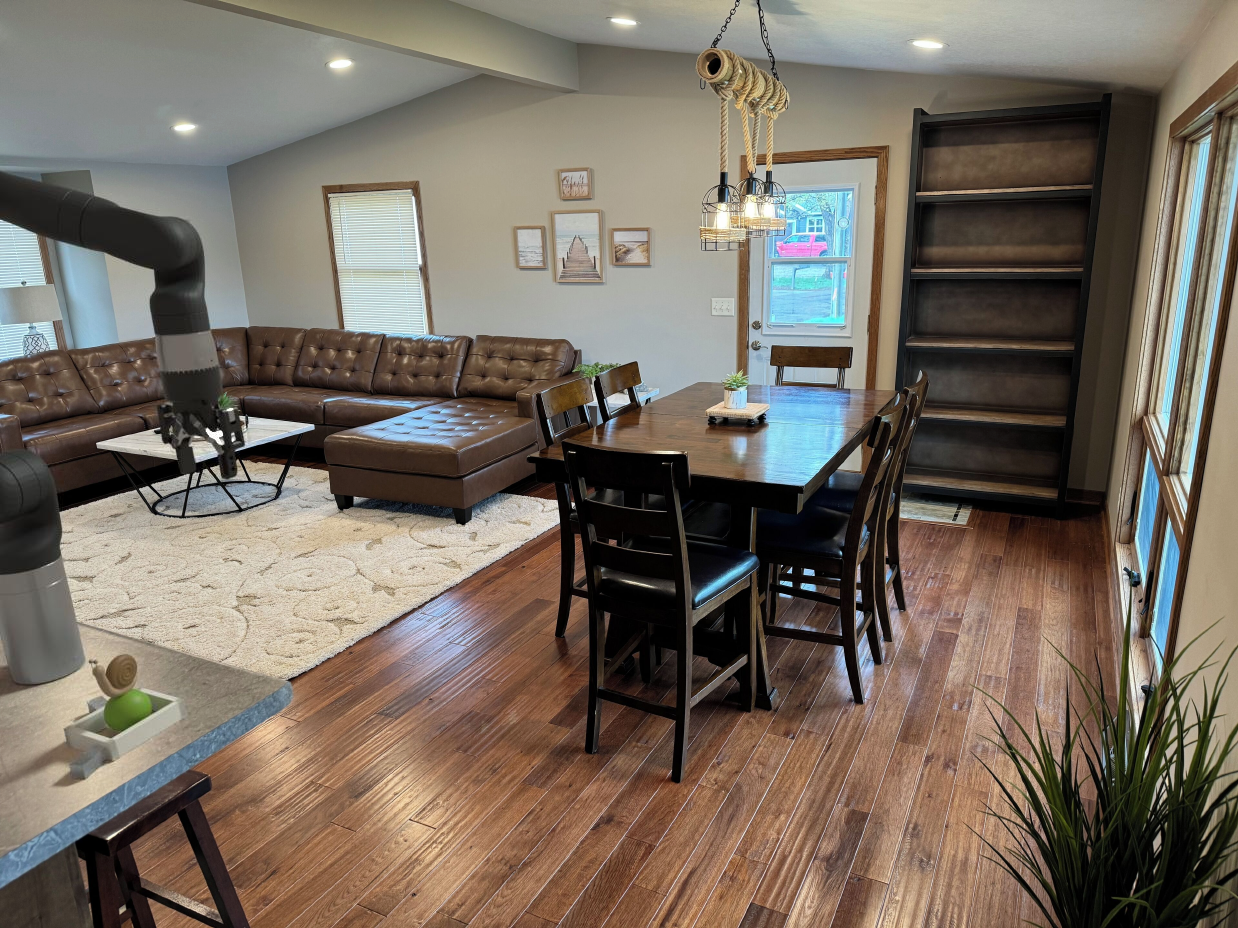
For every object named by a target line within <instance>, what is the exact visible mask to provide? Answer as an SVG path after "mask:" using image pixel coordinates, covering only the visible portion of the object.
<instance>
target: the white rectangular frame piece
mask: <svg viewBox="0 0 1238 928" xmlns="http://www.w3.org/2000/svg"><path fill="white" fill-rule="evenodd" d="M135 689H137V690H140V691H142V692H144V693H145V694H146V695H147V696H148V697H149V699H150V701H151V704H152V711H153V713H151V715H150V716H149V717H147V718H145V719H143V720H142V721H140V722H138V723H137V724H135V725H133V726H132V727H130V728H128V729H127V730H125V731H123V732H119V733H118V734H116V735H115V736H113V737H112V738H109V737H107V736H104V735H101V734H98V733H99V732H100V731H103V730H104V729H106V728H107V727H109V726H108V725H107V723H106V722H105V719H104V708H105V705H106V703H107V701H108V700H107V698H105V697H103V695H100V696H97V697H95V698H93V699H90V700H87V702H86V703H87V707H88V713H89V714H87V715H86V716H84V717H82V718H80V719H78V720H76V721H75V722H73V723H71V724H69V725H67V726H66V727H64V728H63V733H64V736H65V737H64V738H65V740H66V744H67V747H70V748H74V749H76V750H79V751H82V752H83V753H82V754H80V756H78V757H77V758H76V759H74V760H73V761H72V762H71V763H70V764H69V765H68V766H69V769H70V774H71V778H72V779H80V780H81V779H82V780H86V779H87V778H89V777H90V776H91V775H92V774H93V773H95V771H97V770H98V769H99V768H101V767H102V766H103V765H104V764H105V763H106V762H108V761H112V762H115V761H116V760H118V759H119V758H121V757H122V756H125V755H126V754H128V753H129V752H131V751H132V750H134V749H135V748H138V746H141V745H142V744H144V743H145V742H147V741H149V740H150V739H152V738H153V737H155V736H157V735H158V734H161V733H162V732H163V731H165V730H166V729H168V728H170V727H172V726H173V725H175V724H176V723H178V722H179V721H181V720H183V719H185V718H186V717H187V716H188V715H187V709H186V705H185V700H184V699H183V698H180V697H177V696H176V697H175V696H173V695H170V694H167V693H166V694H165V693H162V692H159V691H156V690H152V689H149V688H148V689H147V688H145V687H141V686H138V687H136V688H135Z"/></svg>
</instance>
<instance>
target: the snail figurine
mask: <svg viewBox="0 0 1238 928" xmlns="http://www.w3.org/2000/svg"><path fill="white" fill-rule="evenodd" d="M88 664H89V665H91V670H92V671H91V673H92V676H94V678H95V680H96V683H97V685H98V687H99V688H100V690H101V691H102V693H103V694H104V695H105V696H106V697H109V699H108V700H107V703H106V705H105V708H104V719H105V722H106V723H107V725H108V727H109V728H110V729H111V730H113V731H115V732H119V733H121V732H123V731H125V730H127V729H128V728H130V727H132V726H133V725H135V724H137V723H138V722H140V721H142V720H143V719H145V718H147V717H149V716H150V715H152V711H153V710H152V704H151V701H150V699H149V697H148V696H147V695H146V694H145V693H144V692H142V691H140V690H137V689H136V688H134V687H135V686H136V683H137V681H138V675H137V674H138V673H137V672H138V662H137V661H136V659H135V658H134V656H132V655H131V654H127V653H123V654H119V655H117V656H116V657H114V658H113V659H112V660H111V661H110V662H109V663H108V665H107V667H106V669H105V667H104V666H103V665H97V664H99V660H98V659H94V660H93V659H92V658H91V659H90V658H89V660H88ZM93 664H94V665H95V666H94V667H93Z"/></svg>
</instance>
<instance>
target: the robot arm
mask: <svg viewBox="0 0 1238 928" xmlns="http://www.w3.org/2000/svg"><path fill="white" fill-rule="evenodd" d="M0 221H3V222H5V223H9V224H11V225H14V226H16V227H19V228H21V229H23V230H26V231H28V232H31V233H33V234H35V235H38V236H41V237H43V238H48V239H51V240H53V241H57V242H60V243H64V244H67V245H71V246H75V247H79V248H82V249H86V250H90V251H94V252H100V253H104V254H107V255H109V256H111V257H114V258H117V259H119V260H122V261H124V262H127V263H129V264H132V265H135V266H138V267H141V268H144V269H149V270H153V276H154V290H153V291H152V293H151V294H150V296H149V310H150V311H149V312H150V316H151V321H152V326H153V331H154V337H155V338H154V339H155V354H156V359H157V364H158V369H159V374H160V375H159V376H160V381H161V386H162V391H163V396H164V399H165V400H166V401H167V402H163V403H160V404H159V403H158V404H157V406H156V409H157V416H158V423H159V429H160V436H161V441H162V443H163V444H164V445H168V444H169V445H170V446H171V448H172V449H173V450H175V456H176V460H177V465H178V468H179V471H180V473H181V474H185V475H187V474H190V473H193V472H196V471H197V463H196V460H195V454H194V453H195V452H194V448H193V446H190V445H192V442H193V440H194V437H195V436H197V437H201V438H203V439H204V440H205V442H207V443H209V444H211V445H212V446H213V448H214V450H215V451H216V453H217V454H216V456H217V461H218V466H219V471H220V478H222V479H223V480H229V479H233V478H235V477H237V476H238V469H239V468H238V464H237V458H236V451H237V450H238V449H241V448H245V446H246V441H245V437H244V431H243V427H242V423H241V422H242V421H241V418H240V413H239V409H238V407H237V406H236V405H233V406H228V407H222V406H221V404H220V402H219V398H220V397H221V395H222V394H223V393H224V388H223V382H222V381H223V380H222V376H221V371H220V369H221V368H220V364H219V359H218V353H217V347H216V343H215V341H214V337H213V333H212V330H211V323H210V319H209V317H210V316H209V312H208V307H207V303H206V298H205V290H206V289H205V288H206V262H205V261H206V260H205V252H204V246H203V242H202V239H201V236H200V234H199V232H198V231H197V229H196V228H195V227H194V225H193V224H192V223H190V222H189V221H187V220H186V219H183V218H181V217H178V216H172V215H171V216H167V215H166V216H164V215H163V216H159V215H155V214H150V213H145V212H141V211H138V210H134V209H130V208H126V207H123V206H120V205H119V204H117V202H114V201H111V200H109V199H107V198H103V197H100V196H96V195H94V194H89V193H87V192H82V191H79V190H76V189H72V188H67V187H64V186H61V185H56V184H53V183H48V182H44V181H40V180H36V179H31V178H27V177H23V176H18V175H15V174H12V173H8V172H4V171H1V170H0ZM170 428H172V432H171V434H170ZM217 430H218V431H217ZM233 433H234V438H235V440H234V439H233V437H232V434H233ZM221 440H222V441H223V443H222V442H221ZM57 494H58V493H57V487H56V484H55V480H54V476H53V475H52V472H51V470H50V468H49V467H48V465H47V463H46V462H45V460H44V459H42V457H41V456H39V454H37V453H35V452H34V451H32V450H29V449H25V448H13V449H8V450H4V451H2V452H0V641H1V644H2V648H3V652H4V655H5V659H6V664H7V668H8V672H9V673H10V675H11V678H12V681H13V682H14V683H16V684H20V685H36V684H37V685H38V684H43V683H49V682H52V681H55V680H59V679H61V678H64V677H67V676H69V675H70V674H72V673H74V672H76V671H77V670H78V669H80V668H81V667H83V665H84V664H85V662H86V655H85V652H84V647H83V642H82V638H81V634H80V630H79V626H78V620H77V616H76V611H75V607H74V603H73V598H72V594H71V590H70V587H69V580H68V577H67V573H66V569H65V565H64V564H65V563H64V560H63V555H62V550H61V541H62V538H63V525H62V519H61V515H60V513H61V512H60V508H59V507H60V506H59V505H60V504H59V501H58V499H59V498H58V495H57Z"/></svg>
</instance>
